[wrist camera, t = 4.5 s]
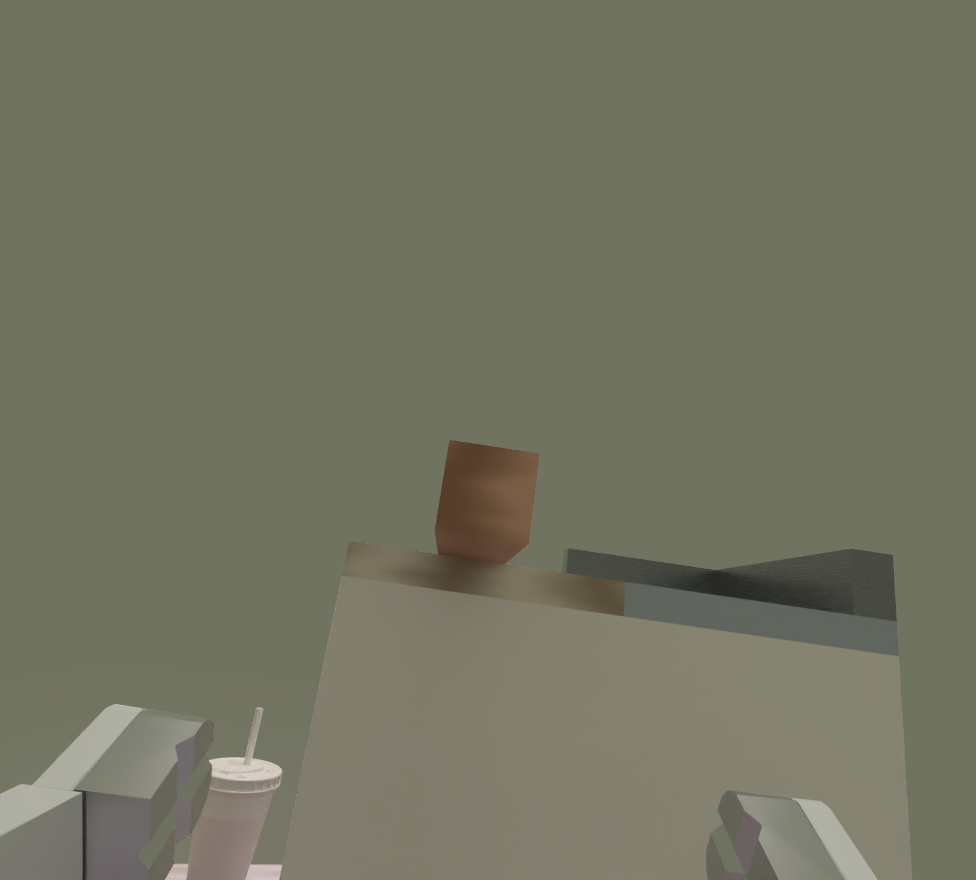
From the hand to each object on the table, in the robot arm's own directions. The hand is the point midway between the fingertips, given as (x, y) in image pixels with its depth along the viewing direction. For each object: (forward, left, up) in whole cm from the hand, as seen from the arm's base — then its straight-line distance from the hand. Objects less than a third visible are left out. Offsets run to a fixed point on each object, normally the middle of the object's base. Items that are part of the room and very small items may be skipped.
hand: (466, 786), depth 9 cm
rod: (0, +18, +5) cm, 19 cm away
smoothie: (-15, +43, -21) cm, 50 cm away
